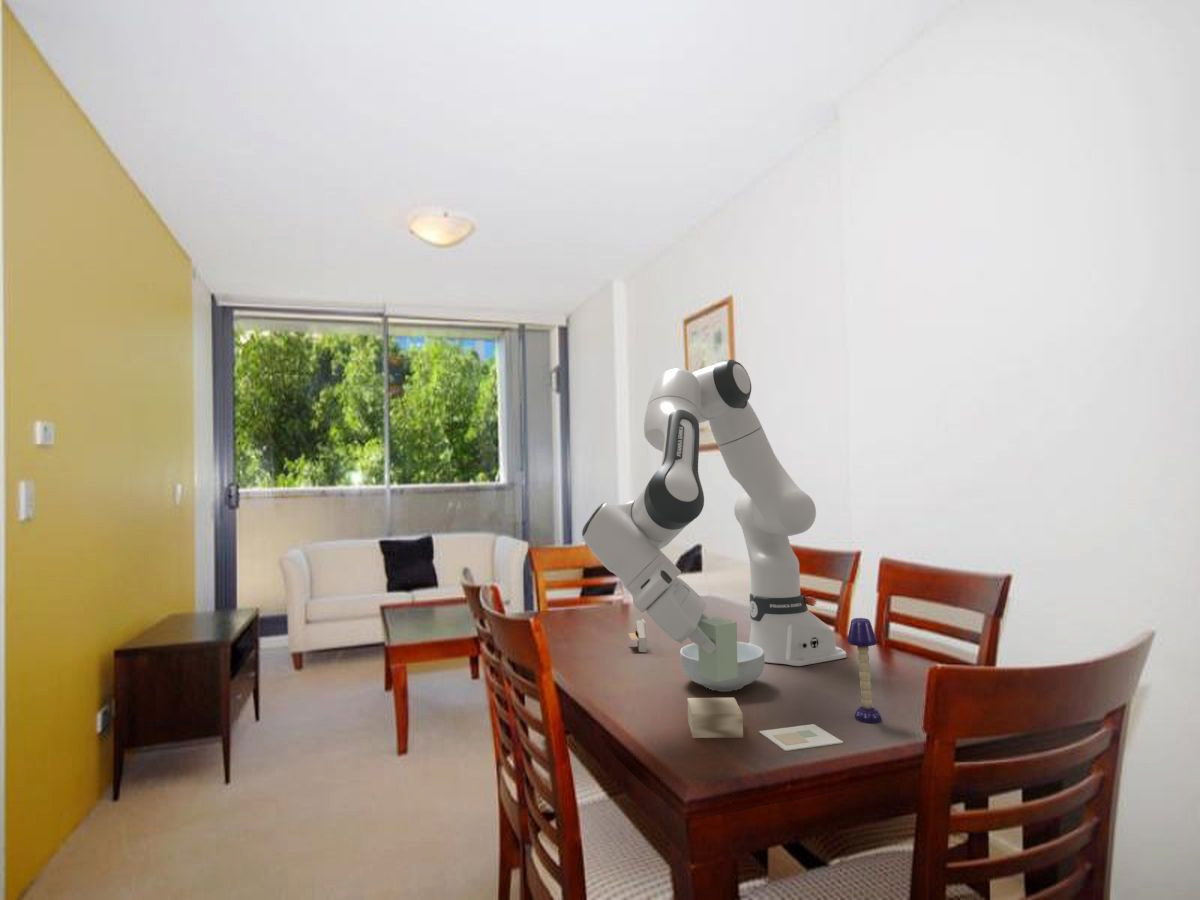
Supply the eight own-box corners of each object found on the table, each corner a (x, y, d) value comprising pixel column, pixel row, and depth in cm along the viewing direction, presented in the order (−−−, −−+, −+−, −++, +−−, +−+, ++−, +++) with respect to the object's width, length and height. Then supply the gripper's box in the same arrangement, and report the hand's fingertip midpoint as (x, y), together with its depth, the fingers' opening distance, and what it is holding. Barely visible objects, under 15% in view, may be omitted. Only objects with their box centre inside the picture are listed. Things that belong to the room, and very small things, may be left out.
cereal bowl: (678, 673, 143) (677, 640, 143) (758, 673, 142) (756, 639, 142) (682, 699, 126) (681, 661, 126) (772, 699, 125) (771, 660, 125)
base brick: (734, 721, 115) (734, 697, 115) (743, 739, 107) (742, 713, 107) (687, 721, 115) (687, 698, 115) (692, 739, 107) (692, 714, 107)
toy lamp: (865, 725, 111) (861, 623, 111) (844, 716, 115) (840, 618, 116) (887, 720, 113) (882, 620, 113) (865, 712, 117) (862, 615, 118)
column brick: (719, 669, 115) (718, 616, 115) (737, 676, 111) (736, 622, 111) (698, 674, 112) (697, 620, 112) (716, 681, 108) (715, 626, 109)
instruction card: (813, 725, 111) (813, 723, 111) (843, 743, 103) (843, 741, 103) (759, 732, 109) (759, 730, 109) (785, 751, 101) (785, 749, 101)
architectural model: (632, 655, 161) (631, 623, 161) (629, 648, 168) (628, 618, 168) (646, 654, 161) (646, 623, 162) (642, 647, 168) (641, 617, 169)
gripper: (653, 584, 125) (707, 640, 122) (631, 607, 105) (695, 674, 102) (677, 561, 124) (731, 617, 121) (659, 580, 104) (724, 647, 101)
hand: (715, 643), depth 112 cm, fingers closed on column brick, 6 cm apart
